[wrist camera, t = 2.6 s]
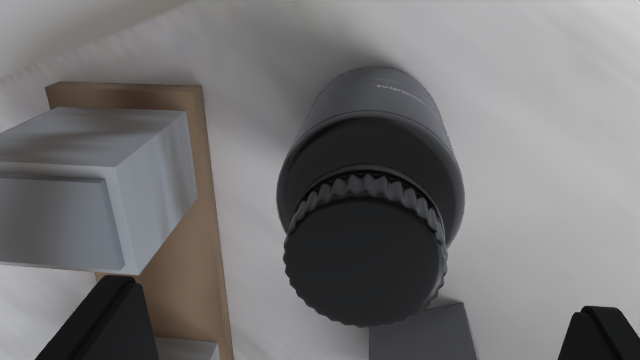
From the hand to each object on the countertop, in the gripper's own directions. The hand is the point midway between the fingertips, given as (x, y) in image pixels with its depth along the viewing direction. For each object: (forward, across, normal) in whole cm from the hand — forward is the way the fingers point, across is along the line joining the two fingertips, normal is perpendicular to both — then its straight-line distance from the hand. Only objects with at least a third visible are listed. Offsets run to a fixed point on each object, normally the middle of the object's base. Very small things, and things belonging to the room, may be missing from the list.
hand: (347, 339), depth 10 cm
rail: (+15, +12, +10) cm, 22 cm away
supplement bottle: (+15, -1, +1) cm, 15 cm away
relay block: (+15, -5, +15) cm, 21 cm away
